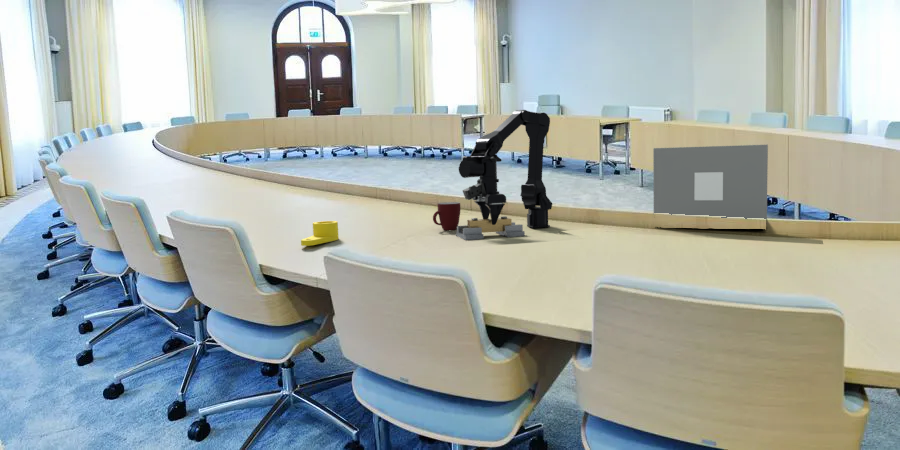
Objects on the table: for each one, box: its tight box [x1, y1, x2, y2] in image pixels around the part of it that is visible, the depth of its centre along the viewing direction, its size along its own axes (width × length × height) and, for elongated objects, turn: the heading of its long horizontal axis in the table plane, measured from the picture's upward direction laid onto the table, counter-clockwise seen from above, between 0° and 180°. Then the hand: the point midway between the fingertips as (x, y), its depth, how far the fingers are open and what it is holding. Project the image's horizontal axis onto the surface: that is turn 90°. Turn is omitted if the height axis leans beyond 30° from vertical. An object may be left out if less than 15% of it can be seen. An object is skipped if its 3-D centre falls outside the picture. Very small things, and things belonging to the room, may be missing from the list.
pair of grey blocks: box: [455, 221, 526, 241], centre depth 229 cm, size 20×12×4 cm, turn 104°
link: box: [466, 215, 513, 234], centre depth 229 cm, size 14×4×5 cm, turn 100°
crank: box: [300, 220, 339, 247], centre depth 232 cm, size 18×8×6 cm, turn 160°
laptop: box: [652, 144, 769, 219], centre depth 237 cm, size 35×26×27 cm
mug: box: [432, 201, 461, 231], centre depth 244 cm, size 11×8×10 cm
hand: (489, 223), depth 229 cm, fingers open, 9 cm apart
